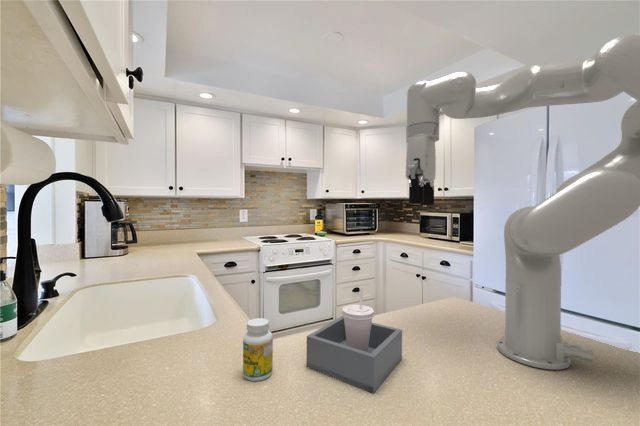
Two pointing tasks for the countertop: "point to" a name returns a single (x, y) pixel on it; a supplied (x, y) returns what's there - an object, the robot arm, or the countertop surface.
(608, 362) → the countertop surface
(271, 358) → the supplement bottle
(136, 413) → the countertop surface
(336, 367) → the box
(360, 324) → the smoothie
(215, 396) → the countertop surface
